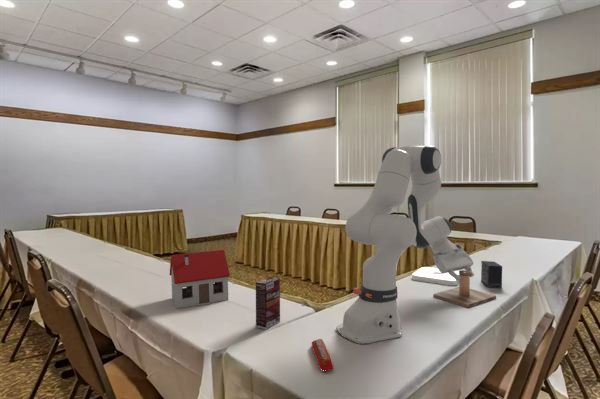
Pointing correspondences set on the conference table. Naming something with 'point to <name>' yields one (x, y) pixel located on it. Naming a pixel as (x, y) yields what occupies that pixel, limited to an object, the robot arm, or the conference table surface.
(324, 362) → the candy bar
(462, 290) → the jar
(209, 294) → the house model
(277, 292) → the supplement box
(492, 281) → the small box
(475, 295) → the board
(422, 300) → the conference table surface
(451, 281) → the computer
